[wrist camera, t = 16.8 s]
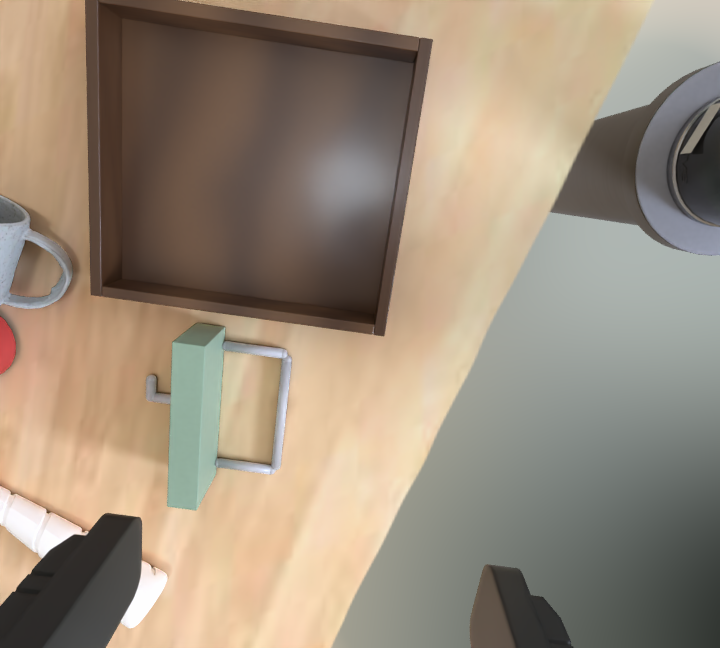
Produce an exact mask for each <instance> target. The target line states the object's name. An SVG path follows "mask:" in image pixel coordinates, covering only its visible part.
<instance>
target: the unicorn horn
mask: <svg viewBox="0 0 720 648" xmlns="http://www.w3.org/2000/svg"><path fill="white" fill-rule="evenodd" d="M10 493H11V492H10V490H8V489H6V488H4V487H2V486H0V524H1V525H2V526H5V527H6V529H7V530H8V531H9V532H10V533H11V534H13V535H14V536H15V537H16V538H17V539H19V540H20V541H21V542H22V543H23V544H25V545H26V546H27V547H28V548H29V549H31V550H32V551H33V552H36V553H38V555H39V557H41V558H43V557H44V556H45V555H46V554H47V553H48V551H49V550H51V549H52V548H54V547H55V546H57V545H58V544H60V543H61V542H63V541H64V540H66V539H67V538H69V537H71V536H72V535H74V534H77V535H85V536H86V535H87V534H88V531H84V532H82V529H81V527H79V526H77V525H75V524H73V523H72V522H70V521H68V520H66V519H64V518H62V517H60V516H58V515H56V514H54V513H53V512H50V513H46V509H45V508H43V507H41V506H39V505H37V504H35V503H33V502H31V501H29V500H27V499H26V498H24V497H22V496H20V495H18V494H13V495H11V494H10ZM166 582H167V574H166V573H165V572H163V571H162V570H160V569H158V568H156V567H153V568H151V566H150V564H148V563H147V562H145V561H143V560H142V569H141V577H140V582H139V585H138V589H137V591H136V594H135V596H134V599H133V601H132V602H131V604H130V606H129V608H128V609H127V611H126V613H125V615H124V616H123V618H122V620H121V623H122V624H123V625H124V626H126V627H128V628H134V627H135V626H136V625H137V624H138V623H139V622H140V621H141V620H142V619H143V618H144V616H145V615H146V614H147V613H148V612H149V610H150V609H151V607H152V606H153V604H154V603H155V601H156V600H157V598H158V597H159V595H160V594H161V592H162V590H163V588H164V586H165V584H166Z"/></svg>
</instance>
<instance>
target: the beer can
mask: <svg viewBox="0 0 720 648" xmlns="http://www.w3.org/2000/svg"><path fill="white" fill-rule="evenodd" d="M15 354H16V342H15V339H14V336H13V332H12V330H11V329H10V327H9V326H8V324H7V323H6V321H5V320H4V319H3V318H2V317H1V316H0V374H2V373H4V372H5V371H6V370H7V369H8V368H9V367H10V366H11V364H12V362H13V359H14V357H15Z"/></svg>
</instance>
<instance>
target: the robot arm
mask: <svg viewBox="0 0 720 648" xmlns="http://www.w3.org/2000/svg"><path fill="white" fill-rule="evenodd" d="M667 184H668V188H669V192H670V194H671V197H672V199H673V201H674V203H675V204H676V206H677V207H678V208H679V209H680V211H681V212H682V213H683V214H684V215H686V216H687V217H688V218H690V219H692V220H693V221H695V222H698V223H700V224H703V225H707V226H713V227H720V96H718V97H716V98H714V99H712V100H710V101H709V102H707V103H706V104H704V105H703V106H702V107H700V108H699V109H698V110H697V111H696V112H695V113H693V114H692V115H691V117H690V118H689V119H688V120H687V121H686V122H685V124H684V125H683V126H682V128H681V129H680V131H679V132H678V134H677V136H676V138H675V140H674V142H673V144H672V147H671V150H670V153H669V157H668V162H667ZM141 569H142V521H141V518H139V517H134V516H126V515H118V514H111V513H106V514H104V515H103V516H102V517H101V518H100V519H99V520H98V521H97V522H96V524H95V525H94V526H93V527H92V529H91V530H90V531H89V532H88V534H87V535H86V536H85V535H77V534H74V535H72V536H71V537H69V538H67V539H66V540H64V541H63V542H61V543H60V544H58V545H57V546H55V547H54V548H52V549H51V550H49V551H48V553H47V554H46V555H45V556H44V557H43V558H42V559H41V561H40V562H39V563H38V564H37V565H36V566H35V567H34V568H33V570H32V572H31V574H28V575H27V576H26V578H25V579H24V580H23V581H22V582H21V583H20V584H19V586H18V587H17V589H16V591H15V592H12V593H11V595H10V596H9V597H8V598H7V599H6V600H5V601H4V603H3V604H2V605H1V606H0V648H106V646H107V644H108V643H109V641H110V639H111V637H112V636H113V634H114V632H115V630H116V629H117V627H118V625H119V623H120V622H121V620H122V618H123V616H124V615H125V613H126V611H127V609H128V608H129V606H130V604H131V602H132V601H133V599H134V596H135V594H136V591H137V589H138V585H139V582H140V577H141ZM470 641H471V648H573V647H572V646H571V641H570V638H569V636H568V634H567V632H566V629H565V627H564V625H563V623H562V620H561V618H560V617H559V616H558V615H557V613H556V612H555V611H554V610H553V608H552V607H551V606H550V605H549V604H548V603H547V601H546V600H545V599H544V598H543V597H539V596H532V595H530V592H529V589H528V587H527V585H526V582H525V579H524V577H523V574H522V573H521V571H520V570H519V569H517V568H511V567H503V566H495V565H488V564H487V565H485V566H484V568H483V571H482V575H481V578H480V582H479V586H478V590H477V594H476V598H475V601H474V605H473V609H472V613H471V618H470Z"/></svg>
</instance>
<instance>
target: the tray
mask: <svg viewBox="0 0 720 648" xmlns="http://www.w3.org/2000/svg"><path fill="white" fill-rule="evenodd" d="M85 14H86V67H87V119H88V171H89V224H90V276H91V295H94V296H103V297H109V298H116V299H123V300H131V301H138V302H145V303H152V304H159V305H166V306H173V307H180V308H187V309H194V310H202V311H209V312H216V313H223V314H230V315H237V316H244V317H251V318H258V319H266V320H273V321H280V322H287V323H294V324H301V325H308V326H315V327H322V328H329V329H337V330H344V331H351V332H358V333H365V334H374V335H378V336H384V335H385V329H386V323H387V317H388V311H389V305H390V298H391V292H392V286H393V280H394V274H395V268H396V262H397V256H398V250H399V243H400V237H401V231H402V225H403V219H404V213H405V207H406V201H407V195H408V188H409V182H410V176H411V170H412V164H413V158H414V152H415V146H416V140H417V133H418V127H419V121H420V115H421V109H422V103H423V97H424V91H425V85H426V79H427V72H428V66H429V60H430V54H431V48H432V42H433V40H432V39H427V38H419V37H413V36H406V35H400V34H393V33H387V32H380V31H374V30H367V29H361V28H354V27H348V26H341V25H335V24H328V23H322V22H315V21H309V20H302V19H296V18H289V17H283V16H276V15H270V14H264V13H257V12H251V11H244V10H238V9H231V8H225V7H218V6H212V5H205V4H199V3H192V2H186V1H179V0H85Z"/></svg>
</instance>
